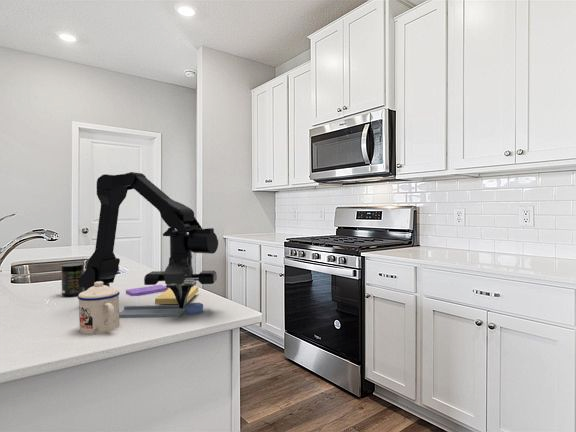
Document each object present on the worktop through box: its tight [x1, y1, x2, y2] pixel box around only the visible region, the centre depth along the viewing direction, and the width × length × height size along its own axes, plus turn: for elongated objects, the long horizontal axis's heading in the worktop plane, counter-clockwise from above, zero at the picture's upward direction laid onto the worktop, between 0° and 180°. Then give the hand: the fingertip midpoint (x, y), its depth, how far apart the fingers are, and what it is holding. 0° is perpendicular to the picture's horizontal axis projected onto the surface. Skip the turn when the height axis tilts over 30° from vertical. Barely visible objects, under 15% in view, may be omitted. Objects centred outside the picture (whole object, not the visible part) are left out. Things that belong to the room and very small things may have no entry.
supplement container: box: [60, 262, 85, 298], centre depth 127 cm, size 7×7×10 cm
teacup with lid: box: [77, 281, 120, 335], centre depth 90 cm, size 12×9×12 cm
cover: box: [154, 285, 199, 305], centre depth 116 cm, size 17×9×2 cm, turn 1°
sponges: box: [125, 284, 169, 297], centre depth 130 cm, size 7×13×2 cm, turn 132°
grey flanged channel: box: [119, 304, 185, 319], centre depth 103 cm, size 18×9×1 cm, turn 91°
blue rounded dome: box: [183, 302, 204, 316], centre depth 104 cm, size 5×5×2 cm
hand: (181, 308), depth 104 cm, fingers closed
